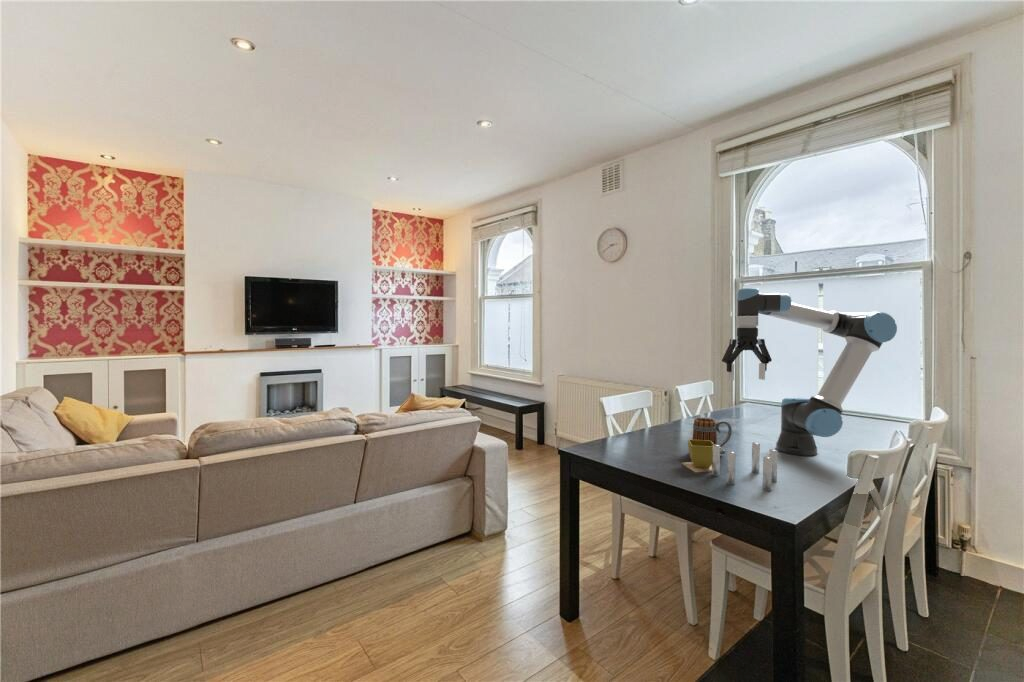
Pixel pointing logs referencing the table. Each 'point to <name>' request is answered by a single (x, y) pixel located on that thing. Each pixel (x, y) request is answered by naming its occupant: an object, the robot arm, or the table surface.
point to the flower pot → (701, 452)
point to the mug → (709, 431)
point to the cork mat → (697, 469)
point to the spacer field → (768, 465)
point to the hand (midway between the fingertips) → (746, 379)
